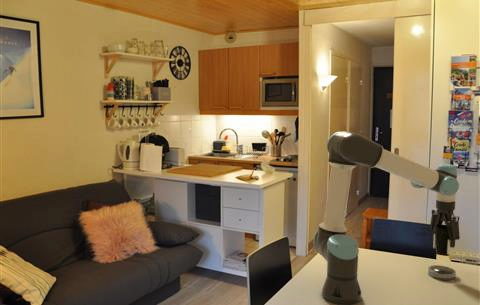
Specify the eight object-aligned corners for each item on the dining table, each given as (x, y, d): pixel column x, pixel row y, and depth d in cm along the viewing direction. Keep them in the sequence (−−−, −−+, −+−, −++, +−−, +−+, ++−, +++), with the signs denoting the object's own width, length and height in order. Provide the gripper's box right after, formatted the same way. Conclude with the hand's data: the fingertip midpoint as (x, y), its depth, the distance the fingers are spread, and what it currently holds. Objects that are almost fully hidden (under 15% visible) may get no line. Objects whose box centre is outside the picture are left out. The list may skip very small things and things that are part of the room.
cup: (448, 250, 192) (450, 224, 190) (455, 256, 184) (457, 229, 183) (431, 250, 192) (432, 224, 191) (437, 256, 185) (438, 229, 184)
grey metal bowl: (440, 281, 183) (440, 275, 182) (422, 272, 193) (422, 266, 193) (461, 278, 186) (461, 272, 186) (442, 269, 196) (442, 263, 196)
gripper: (471, 204, 177) (468, 257, 179) (435, 194, 196) (433, 242, 199) (457, 206, 175) (454, 259, 177) (422, 195, 194) (419, 244, 197)
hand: (443, 250), depth 188 cm, fingers closed on cup, 8 cm apart
